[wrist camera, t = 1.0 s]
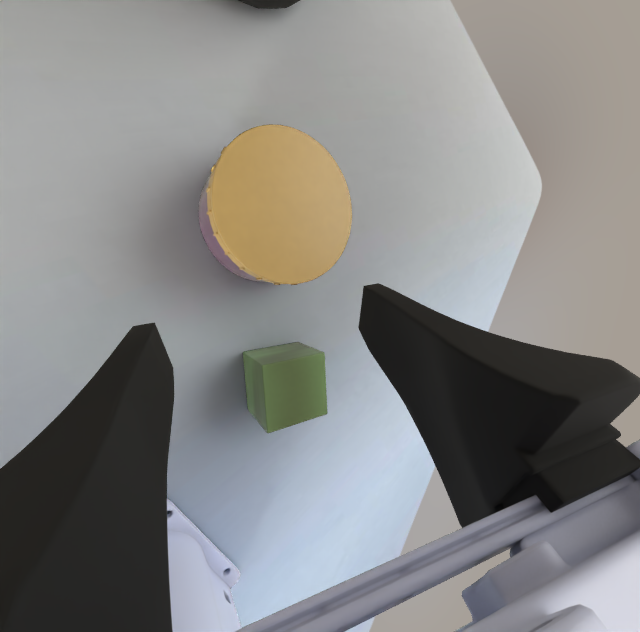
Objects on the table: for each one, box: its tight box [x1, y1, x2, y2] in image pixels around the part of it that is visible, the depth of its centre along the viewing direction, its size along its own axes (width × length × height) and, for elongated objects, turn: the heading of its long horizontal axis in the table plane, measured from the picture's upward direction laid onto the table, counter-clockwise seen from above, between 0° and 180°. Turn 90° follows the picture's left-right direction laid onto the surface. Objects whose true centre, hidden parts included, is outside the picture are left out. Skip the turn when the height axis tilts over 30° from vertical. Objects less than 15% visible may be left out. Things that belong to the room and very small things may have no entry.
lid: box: [206, 125, 352, 285], centre depth 18 cm, size 9×9×1 cm
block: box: [243, 342, 327, 433], centre depth 21 cm, size 4×4×4 cm
